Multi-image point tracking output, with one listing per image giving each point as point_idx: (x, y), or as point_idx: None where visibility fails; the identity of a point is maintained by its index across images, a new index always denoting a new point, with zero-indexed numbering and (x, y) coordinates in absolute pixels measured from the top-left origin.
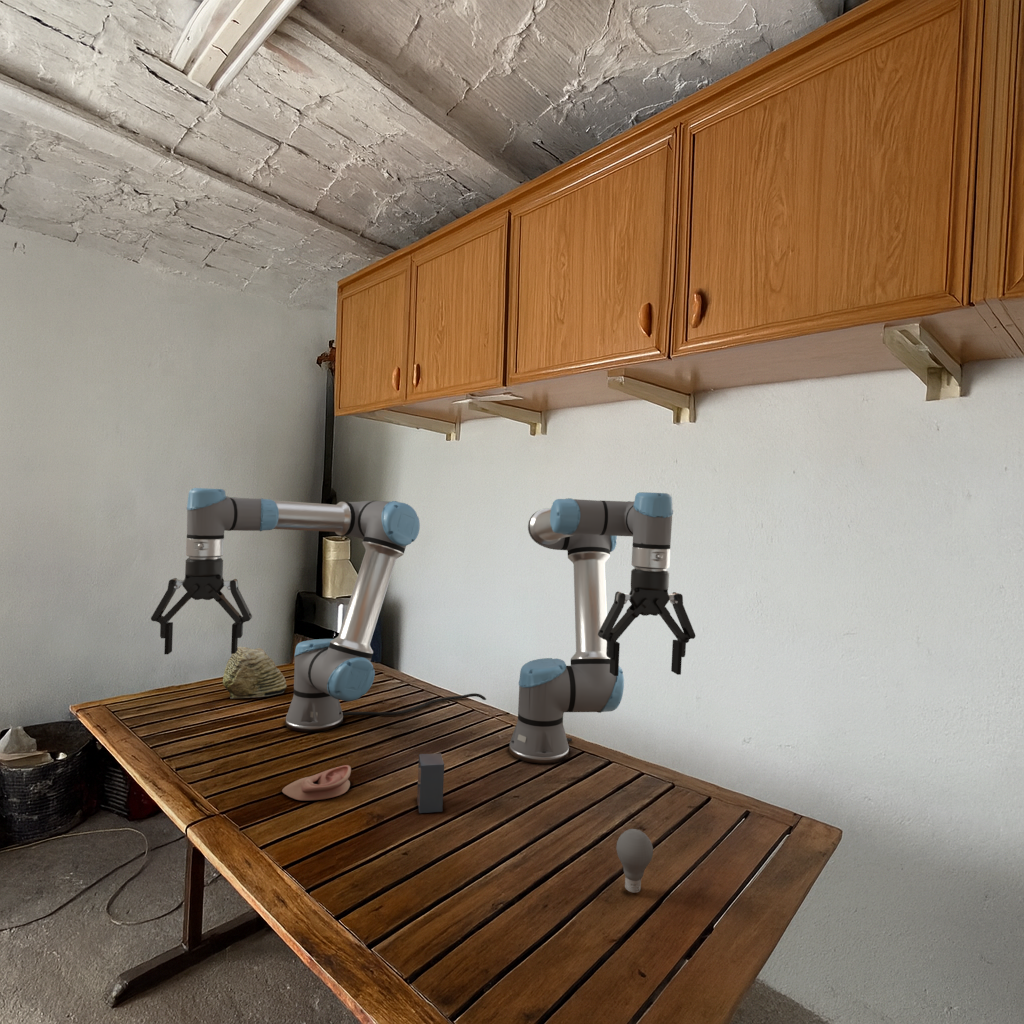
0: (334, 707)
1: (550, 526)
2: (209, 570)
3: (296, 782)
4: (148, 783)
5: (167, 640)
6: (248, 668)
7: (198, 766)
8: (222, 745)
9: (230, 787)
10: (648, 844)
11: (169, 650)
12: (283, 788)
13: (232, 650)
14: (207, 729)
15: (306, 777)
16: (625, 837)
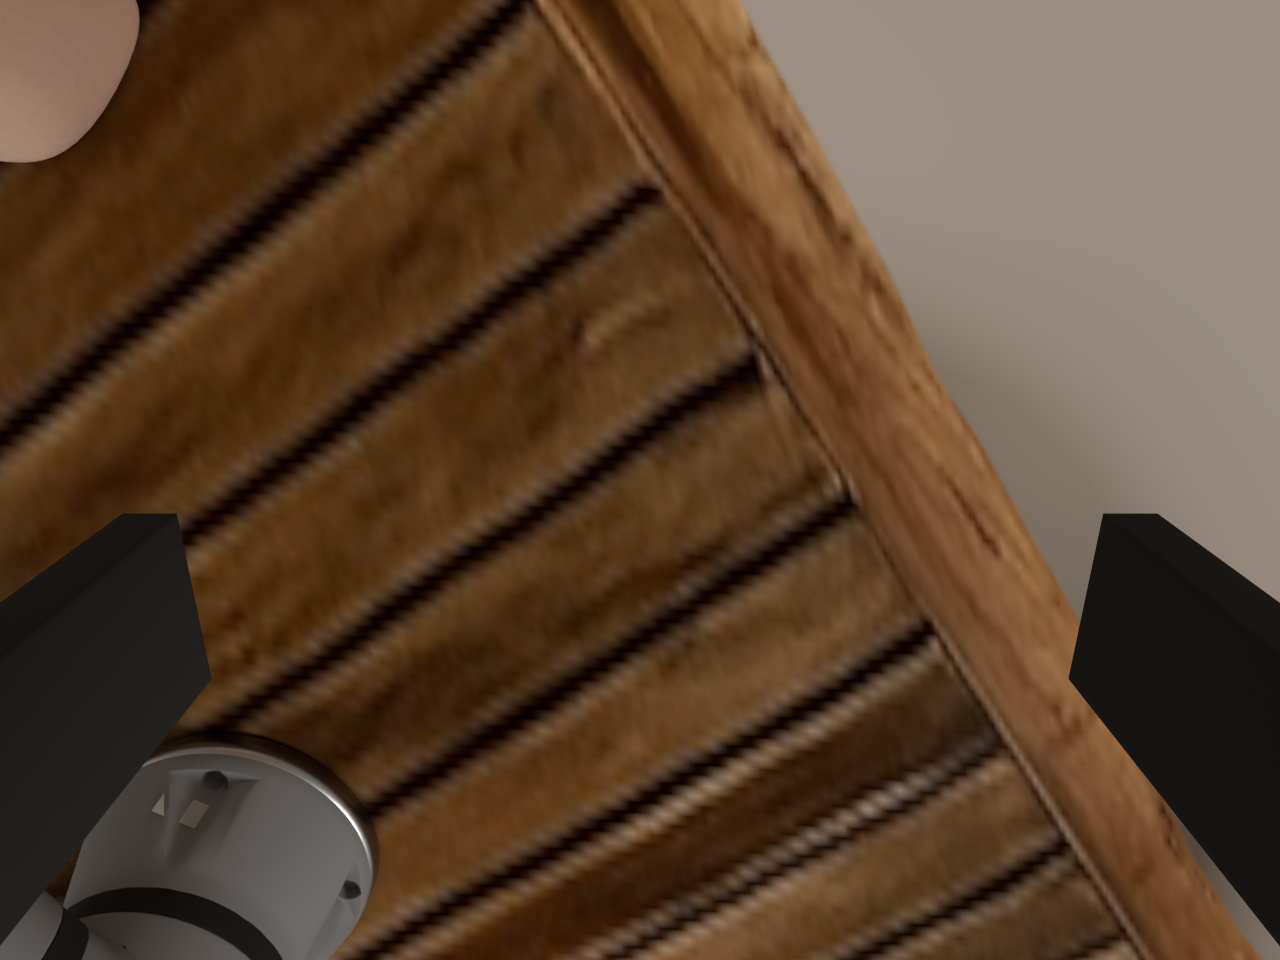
0: (77, 865)
1: None
2: None
3: (40, 7)
4: (851, 211)
5: (1264, 627)
6: None
7: (660, 391)
8: (609, 624)
9: (433, 110)
10: None
11: (1113, 594)
12: (130, 16)
13: (129, 536)
14: (725, 806)
15: (15, 86)
16: None
